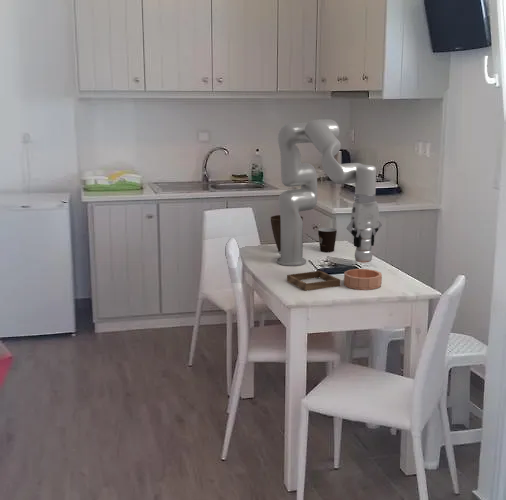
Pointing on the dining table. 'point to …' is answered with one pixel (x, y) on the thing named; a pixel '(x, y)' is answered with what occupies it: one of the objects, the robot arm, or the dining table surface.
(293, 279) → the brown picture frame
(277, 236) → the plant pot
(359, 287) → the terracotta bowl
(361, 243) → the grey metal bulbous cylinder
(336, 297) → the dining table surface
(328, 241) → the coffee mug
